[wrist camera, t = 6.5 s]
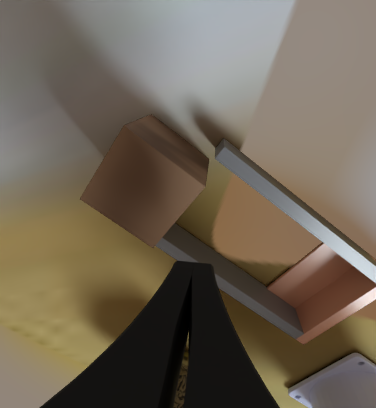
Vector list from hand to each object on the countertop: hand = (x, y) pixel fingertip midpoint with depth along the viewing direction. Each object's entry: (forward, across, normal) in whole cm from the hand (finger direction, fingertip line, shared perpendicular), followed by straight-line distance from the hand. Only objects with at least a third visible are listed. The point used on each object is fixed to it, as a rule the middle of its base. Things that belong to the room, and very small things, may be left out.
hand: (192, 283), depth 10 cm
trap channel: (+8, -4, +3) cm, 10 cm away
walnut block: (+9, +3, -2) cm, 9 cm away
